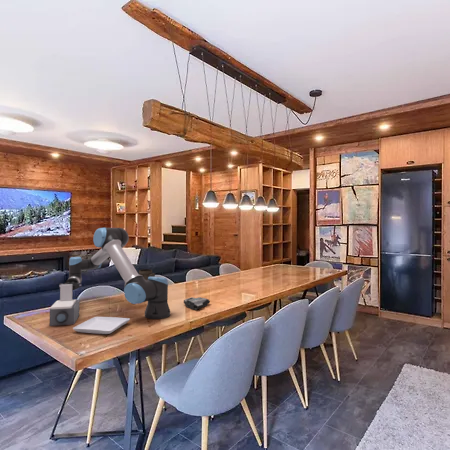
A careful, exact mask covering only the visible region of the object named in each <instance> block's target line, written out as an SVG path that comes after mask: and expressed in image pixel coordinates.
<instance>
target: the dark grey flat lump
mask: <svg viewBox="0 0 450 450" xmlns="http://www.w3.org/2000/svg"><path fill="white" fill-rule="evenodd" d="M210 302H211V301H210V299H208V298H205V297H200V296H199V297H188V298H184V299H183V304H184V305H185V307H186V308H188V309H190V310H195V311H197V310H198V309H200V308H203V307H207V306H208V305H209V304H210Z"/></svg>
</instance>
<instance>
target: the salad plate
mask: <svg viewBox="0 0 450 450" xmlns="http://www.w3.org/2000/svg"><path fill="white" fill-rule="evenodd" d="M130 320H131V318H128V317H116V316H94V317H92V318H89V319H88V320H85V321H83V322H81V323H80V324H77V325H76V326H74V327H72V329H73V331H75V332H78V333H83V334H84V333H87V334H97V335H108V334H110V335H111V334H112V333H113V332H115V331H117V330H118V329H119V328H122V327H123V326H125V325H126V324H127V323H128V322H130Z"/></svg>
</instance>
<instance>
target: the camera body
mask: <svg viewBox="0 0 450 450" xmlns="http://www.w3.org/2000/svg"><path fill="white" fill-rule="evenodd" d="M79 317H80V299H76V302H75V304H74V305H73V307H72V308H67V309H50V308H49V327H50V326H51V327H54V326H55V327H56V326H65V325H66V326H68V325H75V323H76V321H77V320H78V318H79Z"/></svg>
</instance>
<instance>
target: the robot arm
mask: <svg viewBox="0 0 450 450" xmlns="http://www.w3.org/2000/svg"><path fill="white" fill-rule="evenodd" d="M92 239H93V240H92V241H93V244H94V246H95V248H101V249H99V250H98V251H97V252H96V253H95V254H93V256H91V257H90V258H83V259H82V257H81V256H71V257H70V258H69V259H68V260H69V262H68V271H69V273H68V279H67V280H66V281H65V282H64V283H59V285H58V286H59V289H60V285H65V284H72V291H76V290H77V289H79V288H82V281H83V277H82V271H89V270H97V269H101V267H102V264H103V262H104V261H106V260H107V259H108V258H109V259H110V260H111V262H112V263H113V265H114V266H115V268H116V270H117V271H118V273H119V274H120V277H121V278H122V279H123V282H124V285H123V286H124V289H123V292H124V298H125V299H126V301H127V302H128V303H130V304H133V305H137V304H138V305H139V304H143V303H146V302H147V303H146V304H147V305H146V307H145V310H144V318H146V319H152V320H159V319H166V318H168V317H170V316H171V309H170V307H169V306H170V305H169V302H168V295H169V294H168V293H169V289H168V288H169V284H168V282H169V281H168V279H167V277H162V276H155V277H148V280H145V279H144V277H143V276H142V275H139V272H138V271H137V270H136V268H135V266H134V264H133V263H132V261H131V260H130V259H129V257H128V255H127V253H126V252H125V251H124V249H123V248H124V247H125V246H126V245H127V244H128V242H129V239H130V237H129V233H128V232H127V231H126V230H125V229H124V228H122V227H99V228H97V229H96V230H95V232H94V233H93V238H92Z"/></svg>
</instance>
